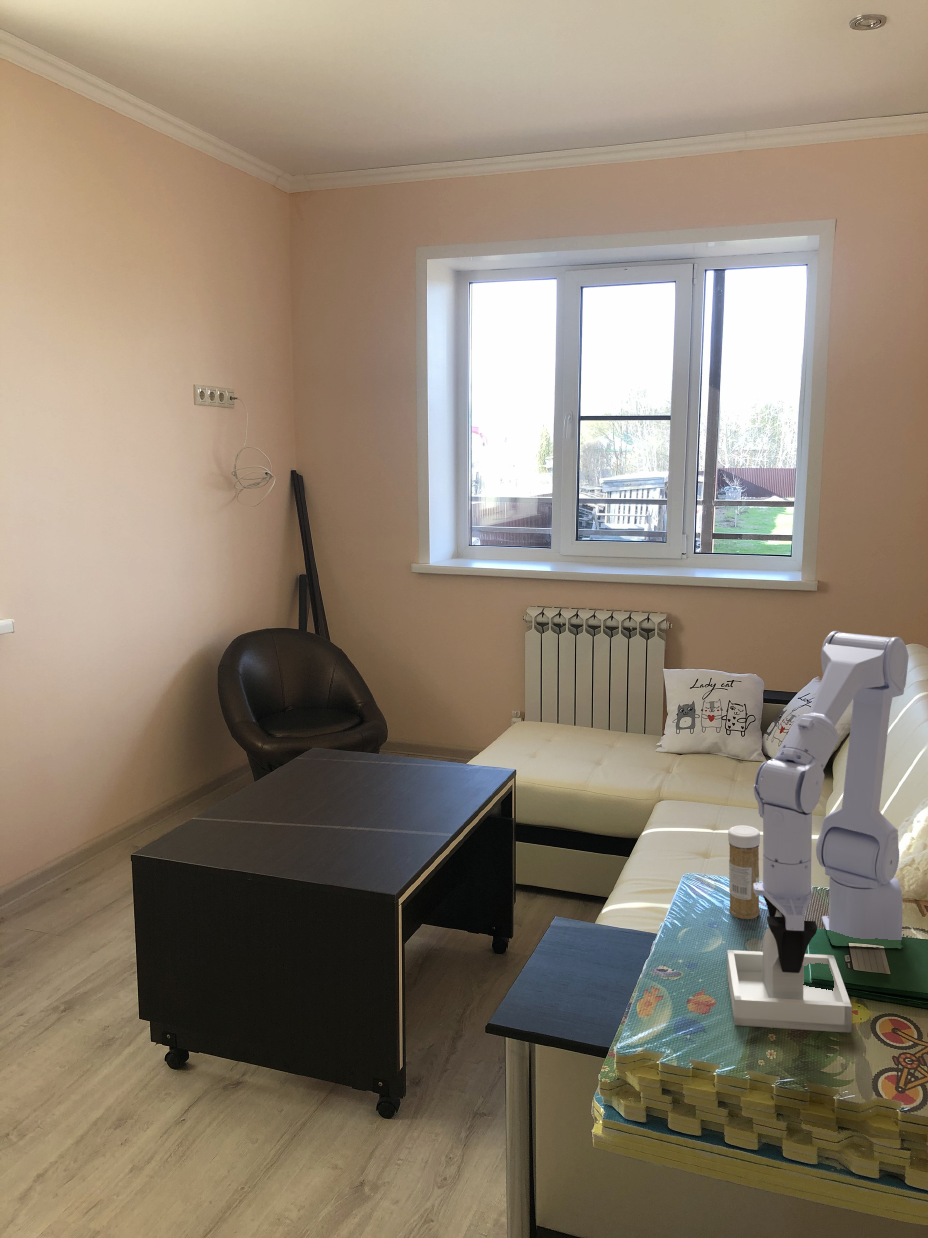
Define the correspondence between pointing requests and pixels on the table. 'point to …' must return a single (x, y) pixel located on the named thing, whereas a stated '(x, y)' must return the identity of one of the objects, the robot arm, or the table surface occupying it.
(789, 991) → the white gable-top carton
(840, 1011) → the bin
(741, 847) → the sprinkles bottle
